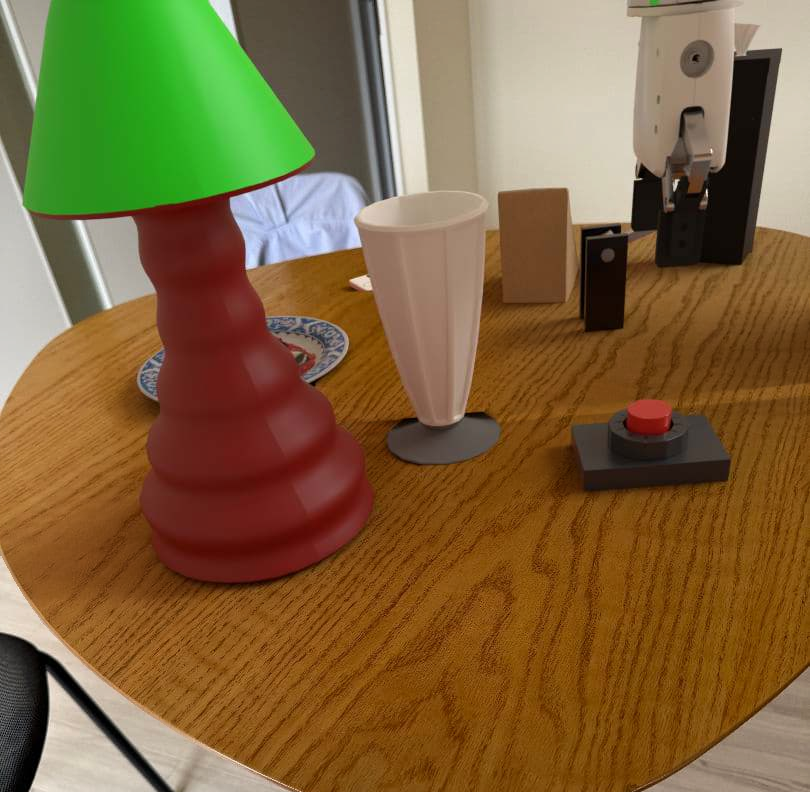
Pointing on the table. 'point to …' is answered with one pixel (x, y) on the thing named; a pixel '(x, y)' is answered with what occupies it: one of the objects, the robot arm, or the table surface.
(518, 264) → the sandwich container
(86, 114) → the table lamp
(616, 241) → the bracket
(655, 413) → the button
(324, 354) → the ceramic plate
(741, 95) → the tall black pillar
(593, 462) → the control block
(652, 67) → the robot arm
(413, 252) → the cup
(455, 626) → the table surface
